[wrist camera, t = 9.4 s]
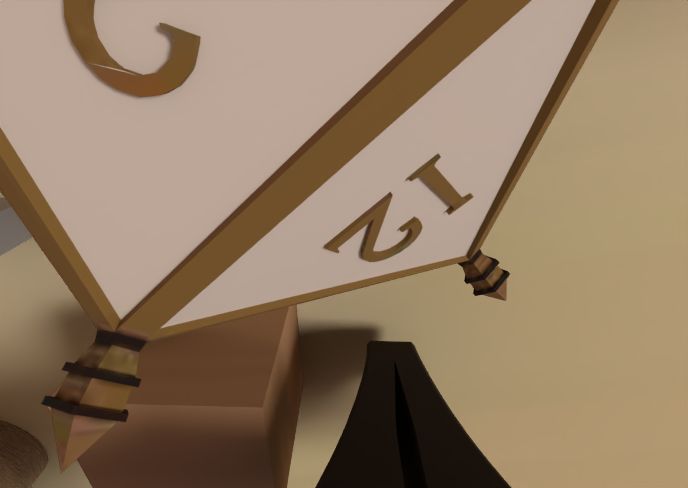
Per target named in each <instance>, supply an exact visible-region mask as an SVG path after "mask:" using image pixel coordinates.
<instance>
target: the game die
mask: <svg viewBox="0 0 688 488" xmlns="http://www.w3.org/2000/svg"><path fill="white" fill-rule="evenodd" d="M618 1H619V0H0V191H1V193H2V194H3V196H4V197H5V198H6V200H7V201H8V203H9V204H10V206H11V207H12V208H13V210H14V211H15V213H16V214H17V215H18V217H19V218H20V220H21V221H22V223H23V224H24V225H25V227H26V228H27V230H28V231H29V232H30V234H31V235H32V237H33V238H34V240H35V241H36V242H37V244H38V245H39V247H40V248H41V249H42V251H43V252H44V254H45V255H46V257H47V258H48V259H49V261H50V262H51V264H52V265H53V267H54V268H55V269H56V271H57V272H58V274H59V275H60V276H61V278H62V279H63V281H64V282H65V284H66V285H67V286H68V288H69V289H70V291H71V292H72V293H73V295H74V296H75V298H76V299H77V301H78V302H79V303H80V305H81V306H82V308H83V309H84V310H85V312H86V313H87V315H88V316H89V318H90V319H91V320H92V322H93V323H94V325H95V326H96V328H97V329H98V330H97V335H96V339H95V342H94V343H93V344H92V345H91V346H90V347H89V348H88V350H87V351H86V352H85V353H84V354H83V355H82V356H81V357H80V358H79V359H78V360H77V361H76V362H75V363H69V362H66V363H65V365H64V367H63V368H62V370H64V371H68V372H69V373H68V375H67V377H66V378H65V380H64V382H63V383H62V385H61V387H60V389H59V390H58V392H57V394H56V396H55V397H52V396H45V398H44V400H43V401H42V403H41V404H43V405H46V406H49V407H51V413H52V419H53V426H54V432H55V438H56V444H57V450H58V457H59V463H60V469H61V473H62V472H63V471H64V470H65V469H66V468H67V467H68V466H70V465H71V464H72V463H73V462H74V461H75V460H76V459H77V458H78V457H79V456H81V455H82V454H83V453H84V452H85V451H86V450H87V449H88V448H89V447H90V446H92V445H93V444H94V443H95V442H96V441H97V440H98V439H99V438H100V437H101V436H103V435H104V434H105V433H106V432H107V431H108V430H109V429H110V428H111V427H112V426H114V425H115V424H116V423H117V422H118V421H120V422H126V420H127V418H128V415H129V413H128V410H127V409H124V407H125V405H126V402H127V399H128V397H129V394H130V392H131V389H132V386H133V387H138V388H139V385H140V382H141V380H142V379H140V378H136V371H137V365H138V358H139V352H140V351H141V349H142V348H143V347H144V345H145V344H146V343H149V342H152V341H156V340H160V339H164V338H168V337H172V336H176V335H180V334H184V333H188V332H191V331H195V330H199V329H203V328H207V327H211V326H215V325H219V324H223V323H226V322H230V321H234V320H238V319H242V318H246V317H250V316H254V315H258V314H261V313H265V312H269V311H273V310H277V309H281V308H285V307H289V306H293V305H296V304H300V303H304V302H308V301H312V300H316V299H320V298H324V297H328V296H331V295H335V294H339V293H343V292H347V291H351V290H355V289H359V288H363V287H367V286H370V285H374V284H378V283H382V282H386V281H390V280H394V279H398V278H402V277H405V276H409V275H413V274H417V273H421V272H425V271H429V270H433V269H437V268H440V267H444V266H448V265H452V264H456V263H458V264H459V265H460V266H462V267H463V270H464V272H465V280H464V281H465V283H466V284H468V283H470V284H471V285H472V286H473V288H474V292H473V294H474V295H475V296H478V295H485V296H489V297H493V298H497V299H500V300H504V301H506V281H507V277H508V276H509V275H510V273H509V272H508V271H505V270H503V269H500V268H499V267H498V264H499V262H498V260H496V259H494V258H491V257H488V256H485V255H484V254H482V252H481V250H480V248H481V246H482V244H483V242H484V240H485V239H486V237H487V235H488V233H489V232H490V230H491V228H492V226H493V224H494V223H495V221H496V219H497V217H498V215H499V214H500V212H501V210H502V208H503V207H504V205H505V203H506V201H507V199H508V198H509V196H510V194H511V192H512V190H513V189H514V187H515V185H516V183H517V182H518V180H519V178H520V176H521V174H522V173H523V171H524V169H525V167H526V165H527V164H528V162H529V160H530V158H531V157H532V155H533V153H534V151H535V149H536V148H537V146H538V144H539V142H540V141H541V139H542V137H543V135H544V133H545V132H546V130H547V128H548V126H549V124H550V123H551V121H552V119H553V117H554V116H555V114H556V112H557V110H558V108H559V107H560V105H561V103H562V101H563V99H564V98H565V96H566V94H567V92H568V91H569V89H570V87H571V85H572V83H573V82H574V80H575V78H576V76H577V74H578V73H579V71H580V69H581V67H582V66H583V64H584V62H585V60H586V58H587V57H588V55H589V53H590V51H591V50H592V48H593V46H594V44H595V42H596V41H597V39H598V37H599V35H600V33H601V32H602V30H603V28H604V26H605V25H606V23H607V21H608V19H609V17H610V16H611V14H612V12H613V10H614V8H615V7H616V5H617V3H618Z"/></svg>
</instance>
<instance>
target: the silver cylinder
mask: <svg viewBox="0 0 688 488" xmlns="http://www.w3.org/2000/svg"><path fill="white" fill-rule="evenodd" d="M47 463H48V455H47V452H46V450H45V449H44V447H43V446H42V445H41V444H40V442H39V441H37V440H36V439H35V438H34V437H33V436H31V435H30V434H28V433H27V432H25V431H24V430H22V429H20V428H18V427H16V426H14V425H11V424H9V423H6V422H3V421H0V488H30V487H31V486H32V485H33V483H34V482H35V481H36V479H37V478H38V477H39V475H40V474H41V473H42V471H43V470H44V469H45V467H46V466H47Z"/></svg>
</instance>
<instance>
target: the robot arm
mask: <svg viewBox="0 0 688 488" xmlns="http://www.w3.org/2000/svg"><path fill="white" fill-rule="evenodd" d="M315 488H511V487H510V486H509V484H508V483H507V482H506V481H505V480H504V479H503V477H502V476H501V475H500V474H499V473H498V472H497V470H496V469H495V468H494V467H493V466H492V465H491V463H490V462H489V461H488V460H487V458H486V457H485V456H484V455H483V453H482V452H481V451H480V450H479V448H478V447H477V446H476V445H475V443H474V442H473V441H472V439H471V438H470V437H469V435H468V434H467V433H466V431H465V430H464V428H463V427H462V426H461V424H460V423H459V421H458V420H457V418H456V417H455V416H454V414H453V413H452V411H451V410H450V408H449V407H448V405H447V404H446V402H445V400H444V399H443V397H442V396H441V394H440V392H439V391H438V389H437V388H436V386H435V384H434V383H433V381H432V379H431V377H430V376H429V374H428V372H427V370H426V368H425V367H424V365H423V363H422V361H421V359H420V357H419V355H418V353H417V351H416V348H415V346H414V345H413V344H412V343H411V342H389V341H370V342H369V343H368V344H367V357H366V363H365V368H364V372H363V376H362V380H361V383H360V386H359V390H358V393H357V396H356V399H355V402H354V405H353V407H352V410H351V413H350V415H349V418H348V421H347V423H346V426H345V428H344V430H343V433H342V435H341V437H340V440H339V442H338V444H337V446H336V448H335V450H334V452H333V455H332V457H331V459H330V461H329V463H328V465H327V466H326V468H325V470H324V472H323V474H322V476H321V478H320V480H319V482H318V484H317V485H316V487H315Z"/></svg>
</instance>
